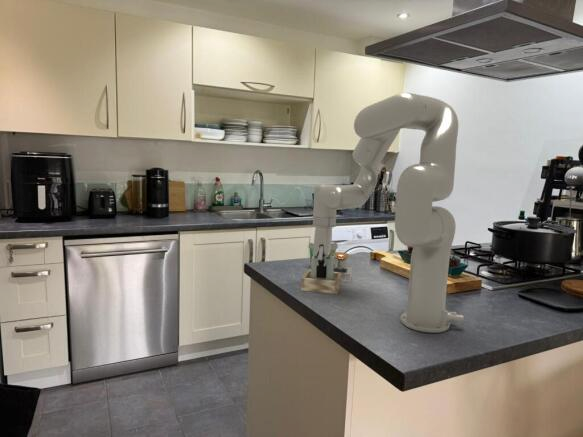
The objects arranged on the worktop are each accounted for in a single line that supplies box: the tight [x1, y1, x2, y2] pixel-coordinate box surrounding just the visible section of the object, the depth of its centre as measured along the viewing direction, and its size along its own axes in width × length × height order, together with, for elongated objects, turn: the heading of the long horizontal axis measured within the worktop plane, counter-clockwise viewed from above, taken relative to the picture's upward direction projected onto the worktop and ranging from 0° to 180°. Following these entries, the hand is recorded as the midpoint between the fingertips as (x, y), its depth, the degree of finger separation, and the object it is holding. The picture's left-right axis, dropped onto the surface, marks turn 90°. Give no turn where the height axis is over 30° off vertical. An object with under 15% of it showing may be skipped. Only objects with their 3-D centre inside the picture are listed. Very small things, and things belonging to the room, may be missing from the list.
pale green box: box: [310, 254, 335, 280], centre depth 139 cm, size 5×7×8 cm
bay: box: [300, 269, 342, 295], centre depth 139 cm, size 12×11×4 cm
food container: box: [307, 241, 339, 262], centre depth 163 cm, size 12×6×10 cm, turn 111°
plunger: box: [333, 251, 350, 273], centre depth 149 cm, size 6×6×6 cm
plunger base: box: [334, 266, 353, 283], centre depth 150 cm, size 8×8×3 cm
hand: (322, 274), depth 139 cm, fingers closed on pale green box, 4 cm apart
